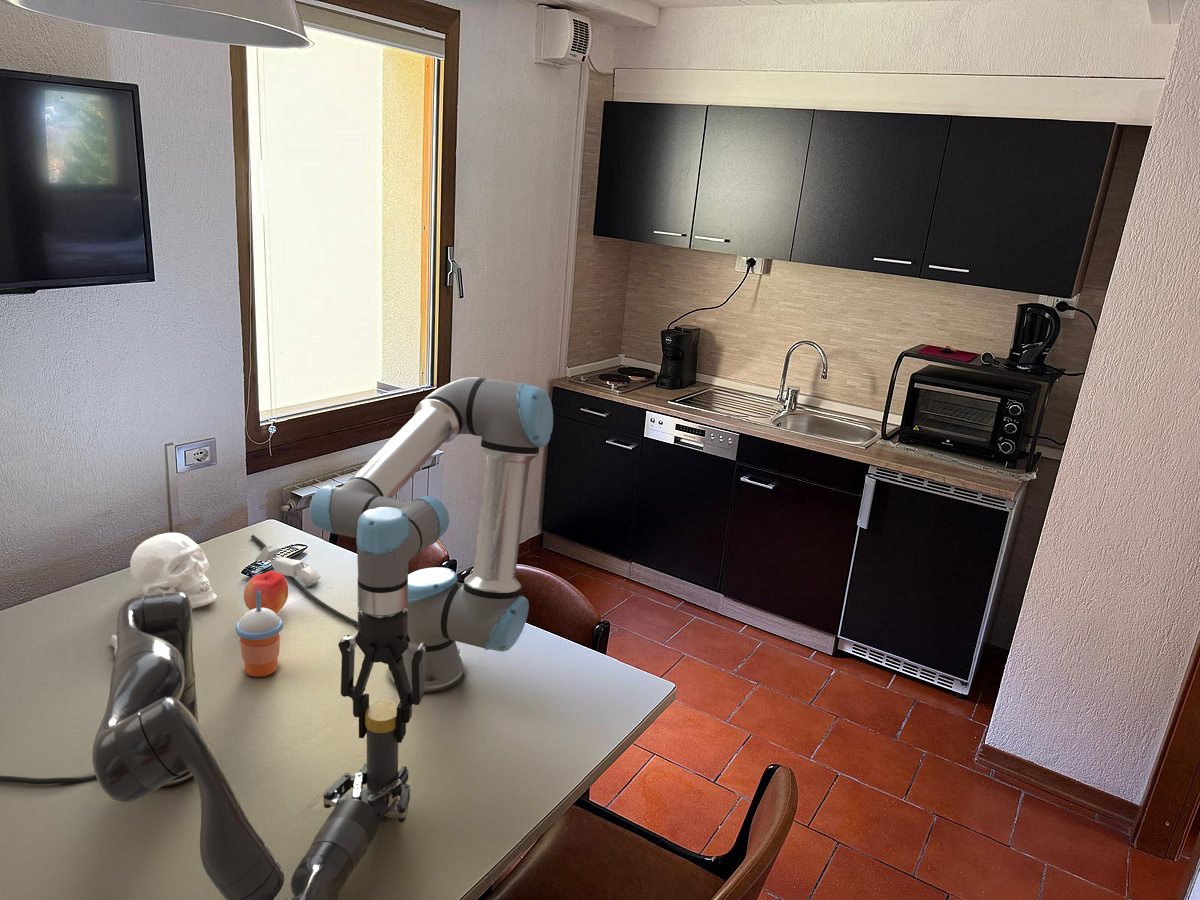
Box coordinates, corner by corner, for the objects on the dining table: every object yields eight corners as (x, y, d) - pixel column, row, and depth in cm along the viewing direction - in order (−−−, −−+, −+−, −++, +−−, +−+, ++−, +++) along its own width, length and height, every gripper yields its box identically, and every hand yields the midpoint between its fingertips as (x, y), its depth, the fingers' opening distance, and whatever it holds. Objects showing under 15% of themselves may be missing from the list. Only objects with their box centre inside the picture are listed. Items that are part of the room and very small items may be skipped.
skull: (195, 618, 196) (192, 554, 192) (118, 599, 202) (114, 537, 198) (235, 596, 208) (233, 535, 204) (161, 578, 214) (158, 519, 210)
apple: (273, 600, 207) (272, 562, 204) (297, 613, 202) (296, 575, 199) (237, 614, 200) (234, 575, 197) (261, 628, 194) (259, 588, 191)
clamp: (253, 565, 223) (254, 542, 221) (265, 560, 226) (266, 537, 224) (309, 593, 215) (310, 569, 213) (320, 588, 218) (321, 564, 216)
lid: (385, 709, 142) (385, 697, 141) (407, 722, 139) (407, 710, 138) (357, 723, 137) (357, 711, 137) (380, 738, 134) (380, 725, 134)
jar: (384, 794, 146) (384, 700, 141) (403, 808, 143) (405, 713, 138) (360, 809, 142) (360, 713, 137) (380, 824, 140) (380, 726, 134)
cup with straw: (268, 684, 174) (265, 605, 169) (228, 676, 176) (224, 597, 170) (293, 661, 183) (290, 585, 177) (254, 654, 184) (250, 578, 179)
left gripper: (389, 827, 125) (430, 755, 142) (298, 810, 127) (348, 741, 143) (389, 868, 128) (429, 793, 144) (299, 850, 130) (348, 778, 146)
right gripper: (447, 602, 135) (444, 728, 142) (333, 589, 136) (335, 715, 143) (435, 625, 128) (432, 756, 135) (314, 611, 129) (317, 742, 136)
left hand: (388, 767), depth 144 cm, fingers closed on jar, 5 cm apart
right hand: (382, 735), depth 139 cm, fingers open, 5 cm apart
